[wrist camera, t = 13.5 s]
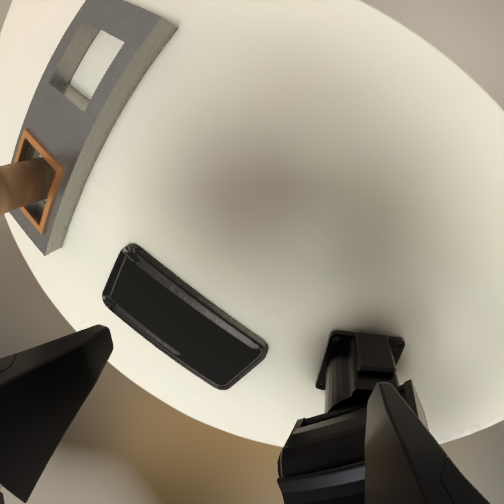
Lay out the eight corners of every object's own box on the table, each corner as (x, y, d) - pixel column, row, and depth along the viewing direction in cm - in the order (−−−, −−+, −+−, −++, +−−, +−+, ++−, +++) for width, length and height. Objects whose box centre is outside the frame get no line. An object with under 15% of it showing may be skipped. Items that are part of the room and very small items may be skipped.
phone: (124, 241, 22) (272, 352, 23) (132, 236, 23) (274, 344, 24) (99, 301, 26) (222, 393, 26) (105, 295, 27) (225, 386, 27)
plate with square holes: (110, -2, 15) (91, -11, 13) (177, 28, 16) (160, 15, 14) (18, 196, 25) (0, 202, 22) (61, 247, 25) (42, 257, 23)
